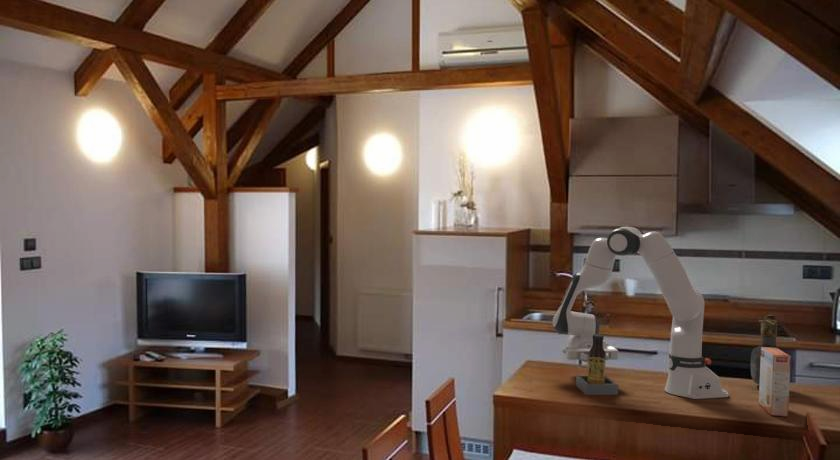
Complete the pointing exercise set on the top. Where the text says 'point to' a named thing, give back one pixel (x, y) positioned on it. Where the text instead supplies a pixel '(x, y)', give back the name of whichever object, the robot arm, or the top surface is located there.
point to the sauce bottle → (596, 361)
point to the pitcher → (764, 344)
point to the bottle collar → (597, 386)
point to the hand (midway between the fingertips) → (597, 358)
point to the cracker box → (774, 381)
